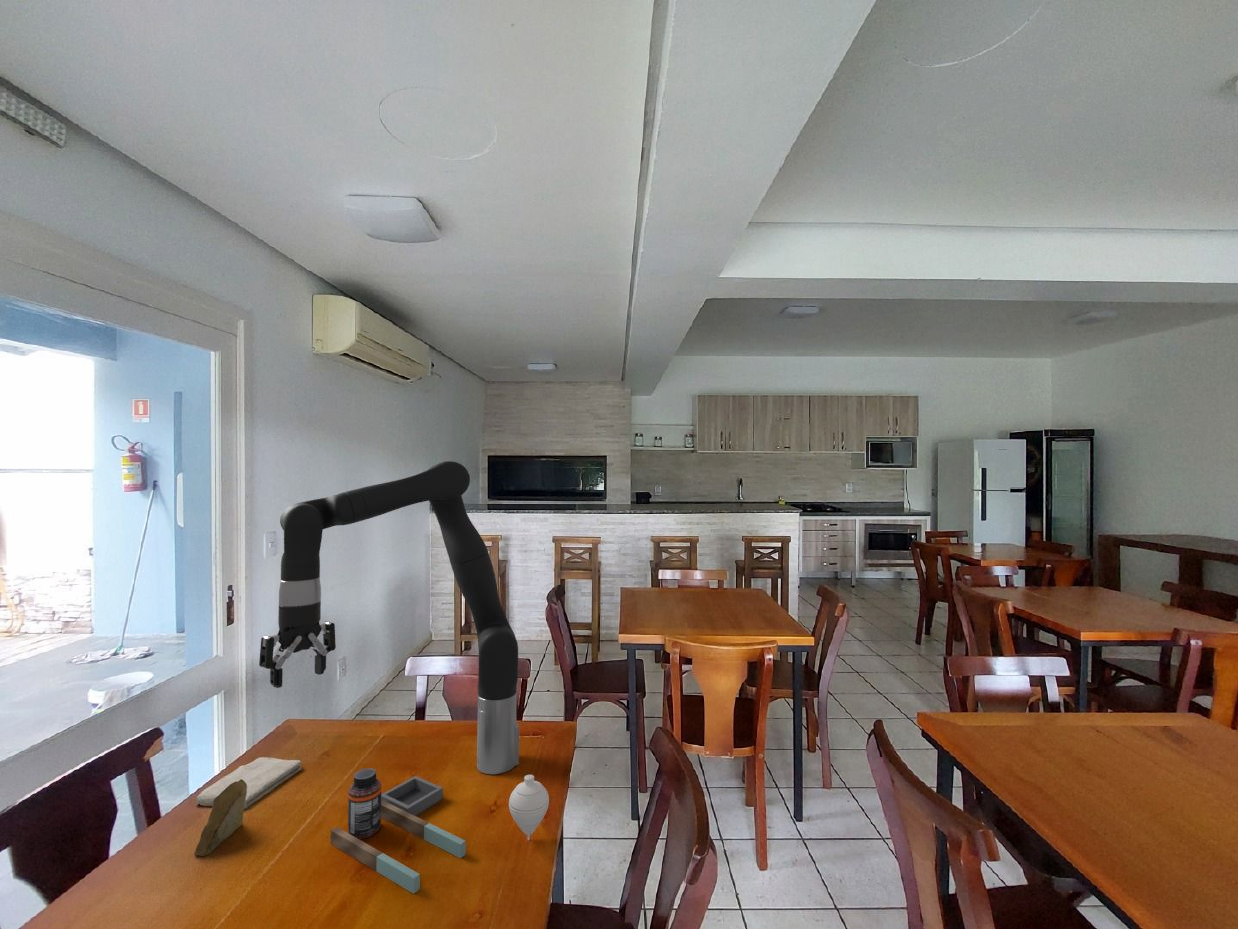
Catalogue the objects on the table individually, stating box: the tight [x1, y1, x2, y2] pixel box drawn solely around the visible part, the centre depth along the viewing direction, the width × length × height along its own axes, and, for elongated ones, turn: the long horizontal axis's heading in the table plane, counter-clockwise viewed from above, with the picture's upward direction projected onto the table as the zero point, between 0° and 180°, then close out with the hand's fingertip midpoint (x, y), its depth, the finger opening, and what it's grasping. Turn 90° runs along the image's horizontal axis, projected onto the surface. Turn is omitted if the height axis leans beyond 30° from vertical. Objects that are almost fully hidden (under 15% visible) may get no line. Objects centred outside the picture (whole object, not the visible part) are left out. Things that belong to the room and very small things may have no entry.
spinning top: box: [508, 774, 550, 841], centre depth 107 cm, size 8×8×12 cm
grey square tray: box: [381, 775, 444, 817], centre depth 118 cm, size 9×9×2 cm
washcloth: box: [195, 756, 302, 810], centre depth 125 cm, size 12×18×3 cm, turn 172°
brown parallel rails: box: [330, 801, 429, 872], centre depth 106 cm, size 14×11×2 cm
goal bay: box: [375, 822, 467, 894], centre depth 100 cm, size 10×11×2 cm
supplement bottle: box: [347, 767, 382, 840], centre depth 109 cm, size 6×6×11 cm
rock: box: [193, 779, 247, 857], centre depth 106 cm, size 11×9×10 cm
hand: (298, 680), depth 113 cm, fingers open, 8 cm apart
